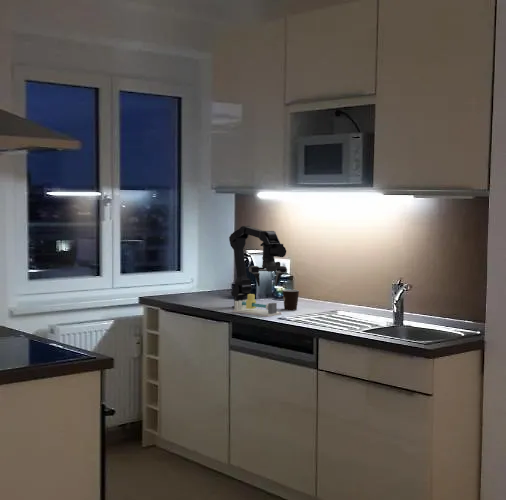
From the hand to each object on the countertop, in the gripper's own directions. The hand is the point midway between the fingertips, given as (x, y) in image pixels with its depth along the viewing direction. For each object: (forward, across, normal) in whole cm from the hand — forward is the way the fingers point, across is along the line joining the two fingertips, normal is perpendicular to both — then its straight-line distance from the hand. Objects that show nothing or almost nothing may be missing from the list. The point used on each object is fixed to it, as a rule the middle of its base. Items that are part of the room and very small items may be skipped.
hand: (267, 286), depth 409 cm
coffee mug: (+14, +16, +8) cm, 22 cm away
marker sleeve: (+12, -8, +2) cm, 14 cm away
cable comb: (+14, -6, -2) cm, 15 cm away
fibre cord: (+14, -6, -2) cm, 15 cm away
